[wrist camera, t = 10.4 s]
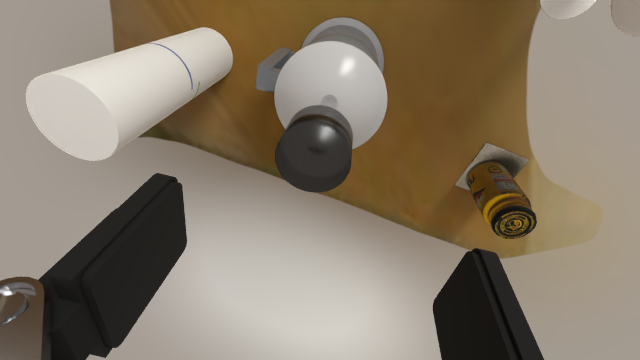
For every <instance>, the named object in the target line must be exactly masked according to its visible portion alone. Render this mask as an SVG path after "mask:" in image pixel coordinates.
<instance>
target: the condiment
mask: <svg viewBox="0 0 640 360" xmlns="http://www.w3.org/2000/svg"><path fill="white" fill-rule="evenodd" d="M491 157H492V158H491ZM490 158H491V159H490ZM487 159H488V160H487ZM528 161H529V159H526V158H524V157H521V156H519V155H516V154H514V153H512V152H509V151H507V150H504V149H501V148H499V147H496V146H494V145H491V144H489V143H486V144H485V145H484V147H483V148H482V149H481V151H480V152H479V154H478V155H477V156H476V158H475V159H474V160H473V162H472V163H471V164H470V165H469V166H468V168H467V169H466V171H465V172H464V173H463V175H462V176H461V177H460V179H459V180H458V181H457V183H456V184H455V186H458V187H461V188H463V189H466V190H469V191H471V193H472V195H473V197H474V199H475V201H476V203H477V205H478V207H479V209H480V211H481V214H482V216H483V217H484V219H485V221H486V222H487V223H488V224H490V226H491V227H492V229H493V231H494V232H495V233H496V234H497V235H498V236H501V237H503V238H506V239H507V238H509V239H514V238H520V237H523V236H525V235H527V234H528V233H530V232H531V231H532V230H533V229H534V228H535V226H536V223H537V220H536V216H535V213H534V212H533V211H532V209H531V204H530V201H529V199H528V198H527V197H526V195H525V194H524V192H523V191H522V190H521V188H520V187H519V186H518V184H517V183H516V181H515V180H514V179H513V178H514V177H515V176H516V175H517V173H518V172H519V171H520V170H521V169H522V168H523V167H524V166H525V165H526V164H527V162H528Z"/></svg>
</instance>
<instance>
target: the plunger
mask: <svg viewBox="0 0 640 360" xmlns="http://www.w3.org/2000/svg"><path fill="white" fill-rule="evenodd" d="M337 106H338V100H337V98H336V97H335V96H333V95H326V96H324V97H323V99H322V101H321V104H320V105H312V106H308V107H305V108H303V109H301V110H300V111H298V112H297V113H296V114H295V115H294V116H293V117H292V118H291V120H290V122H289V124H288V126H287V128H286V129H285V131H284V133H283V135H282V137H281V139H280V141H279V142H278V144H277V147H276V151H275V161H276V165H277V168H278V170H279V172H280V174H281V175H282V176H283V178H284V179H285V180H286V181H287V182H289V183H290V184H291V185H293V186H294V187H296V188H298V189H301V190H304V191H308V192H325V191H328V190H331V189H333V188H335V187H337V186H338V185H340V184H341V183H342V182H343V181H344V180H345V178H346V177H347V175H348V173H349V171H350V167H351V157H352V145H353V132H352V128H351V126H350V124H349V122H348V120H347V119H346V118H345V117H344V116H343V115H342V114H341V113H340V112H339V111H337Z"/></svg>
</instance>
